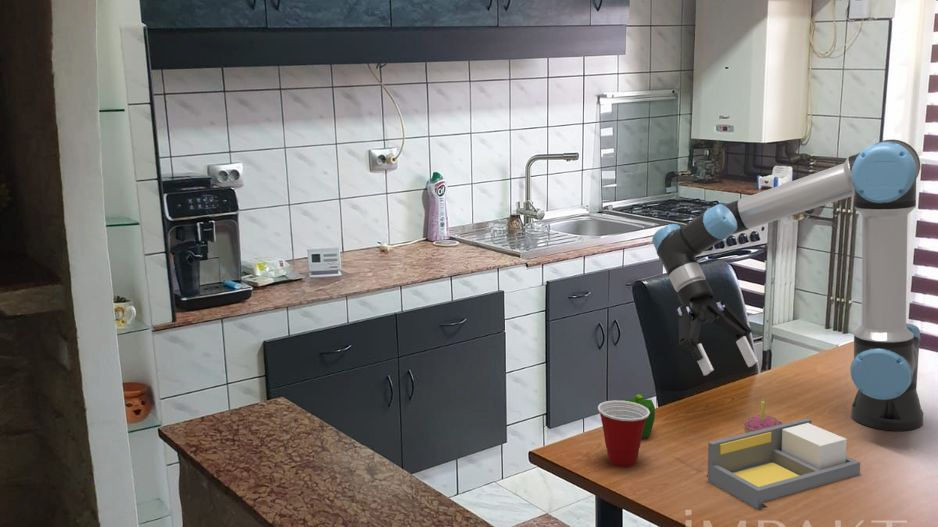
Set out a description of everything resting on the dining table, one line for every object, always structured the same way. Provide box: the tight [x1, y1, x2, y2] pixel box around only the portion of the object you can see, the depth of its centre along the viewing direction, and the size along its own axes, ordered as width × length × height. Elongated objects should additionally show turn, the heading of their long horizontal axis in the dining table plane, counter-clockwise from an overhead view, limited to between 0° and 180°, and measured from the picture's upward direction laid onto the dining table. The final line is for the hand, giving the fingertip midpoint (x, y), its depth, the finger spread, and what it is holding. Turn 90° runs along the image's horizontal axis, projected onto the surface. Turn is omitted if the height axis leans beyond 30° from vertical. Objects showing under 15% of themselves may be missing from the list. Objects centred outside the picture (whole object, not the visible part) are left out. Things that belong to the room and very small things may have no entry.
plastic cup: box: [597, 400, 650, 468], centre depth 187 cm, size 11×11×12 cm
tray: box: [707, 417, 861, 510], centre depth 175 cm, size 26×14×8 cm, turn 115°
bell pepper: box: [620, 394, 656, 439], centre depth 201 cm, size 8×8×10 cm
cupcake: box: [743, 398, 783, 433], centre depth 191 cm, size 9×8×12 cm
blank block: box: [782, 423, 848, 470], centre depth 178 cm, size 7×10×7 cm
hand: (731, 368), depth 197 cm, fingers open, 13 cm apart
